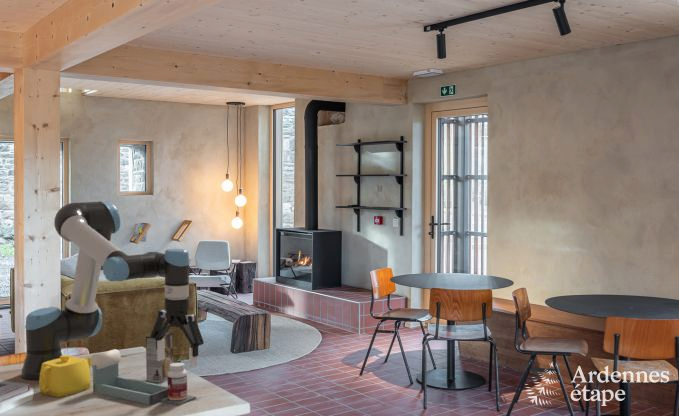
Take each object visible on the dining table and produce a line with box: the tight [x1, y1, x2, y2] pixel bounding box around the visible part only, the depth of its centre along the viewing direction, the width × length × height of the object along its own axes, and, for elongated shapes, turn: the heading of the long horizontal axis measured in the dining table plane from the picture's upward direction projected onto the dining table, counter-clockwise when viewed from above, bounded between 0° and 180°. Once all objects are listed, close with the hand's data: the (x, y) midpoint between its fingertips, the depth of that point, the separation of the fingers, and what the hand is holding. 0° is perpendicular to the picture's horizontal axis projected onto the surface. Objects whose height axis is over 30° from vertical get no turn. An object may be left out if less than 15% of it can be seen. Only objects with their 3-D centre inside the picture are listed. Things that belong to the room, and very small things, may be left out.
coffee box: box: [145, 331, 174, 383], centre depth 259 cm, size 9×6×16 cm
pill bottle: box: [167, 362, 188, 401], centre depth 235 cm, size 6×6×11 cm
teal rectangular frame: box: [90, 348, 168, 406], centre depth 241 cm, size 28×10×12 cm, turn 60°
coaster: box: [160, 394, 197, 406], centre depth 235 cm, size 8×8×1 cm
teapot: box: [38, 354, 92, 398], centre depth 246 cm, size 20×12×12 cm, turn 147°
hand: (176, 363), depth 235 cm, fingers open, 13 cm apart
